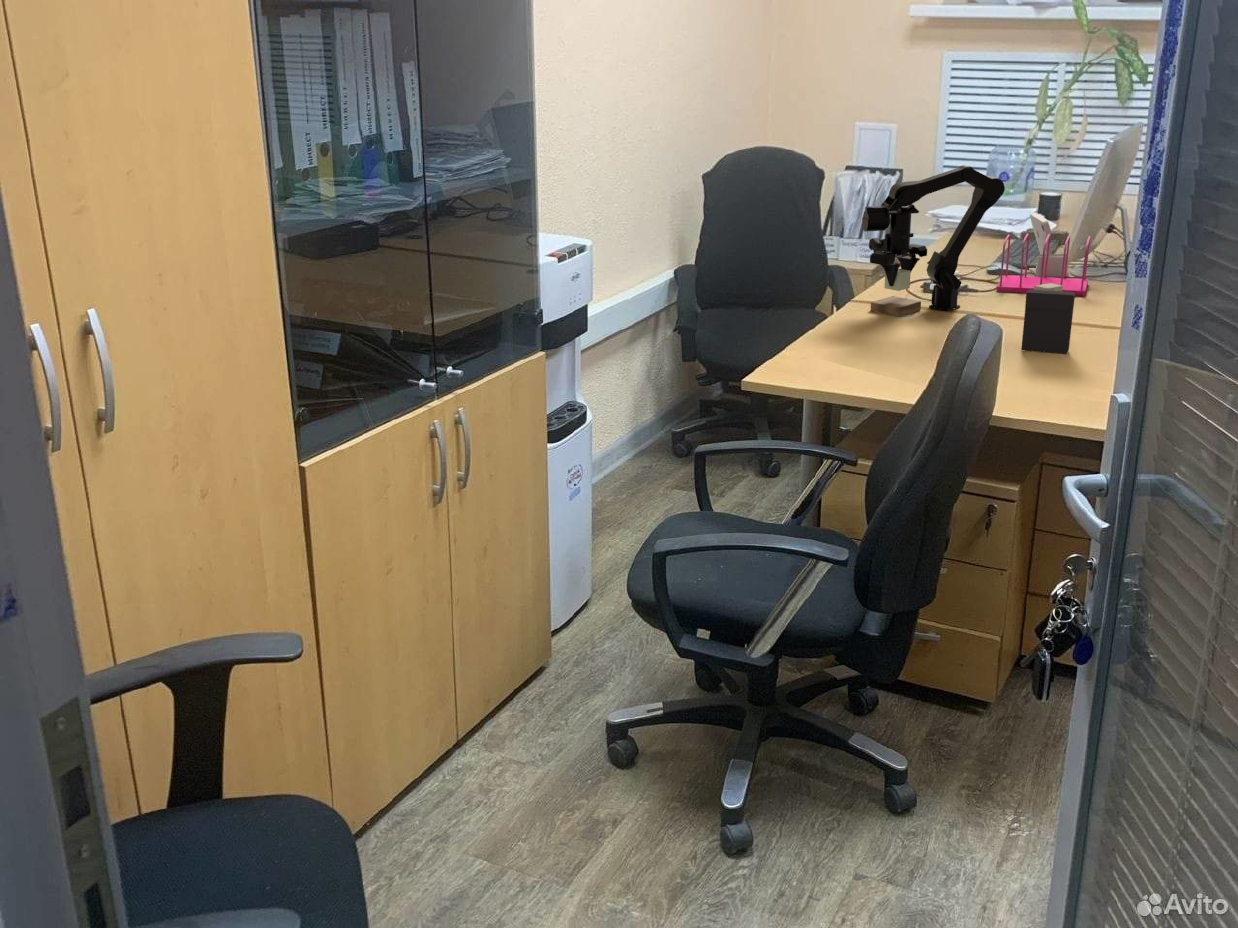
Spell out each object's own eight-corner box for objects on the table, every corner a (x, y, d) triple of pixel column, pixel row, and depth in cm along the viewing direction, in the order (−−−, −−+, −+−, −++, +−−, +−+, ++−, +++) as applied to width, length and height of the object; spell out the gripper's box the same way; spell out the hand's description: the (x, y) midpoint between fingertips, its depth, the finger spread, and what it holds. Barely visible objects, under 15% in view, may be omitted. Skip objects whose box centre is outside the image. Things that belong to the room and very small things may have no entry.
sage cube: (909, 288, 328) (910, 270, 326) (898, 290, 325) (899, 273, 323) (895, 285, 332) (896, 268, 330) (884, 288, 329) (885, 271, 327)
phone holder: (1070, 276, 364) (1076, 219, 357) (1037, 277, 364) (1043, 220, 358) (1054, 265, 380) (1060, 210, 373) (1023, 266, 381) (1028, 211, 374)
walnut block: (920, 311, 330) (921, 301, 329) (898, 318, 324) (899, 307, 323) (892, 306, 337) (892, 296, 336) (870, 312, 331) (870, 302, 330)
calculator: (1068, 350, 287) (1075, 291, 281) (1067, 355, 283) (1074, 295, 278) (1022, 347, 291) (1028, 288, 286) (1020, 351, 287) (1026, 292, 282)
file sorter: (1084, 297, 338) (1090, 244, 333) (996, 292, 348) (1000, 240, 342) (1087, 284, 353) (1093, 233, 347) (1002, 280, 363) (1007, 230, 357)
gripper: (898, 222, 333) (895, 275, 339) (855, 231, 323) (853, 285, 328) (929, 226, 325) (926, 280, 331) (887, 235, 315) (884, 291, 320)
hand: (897, 284), depth 328 cm, fingers closed on sage cube, 5 cm apart
